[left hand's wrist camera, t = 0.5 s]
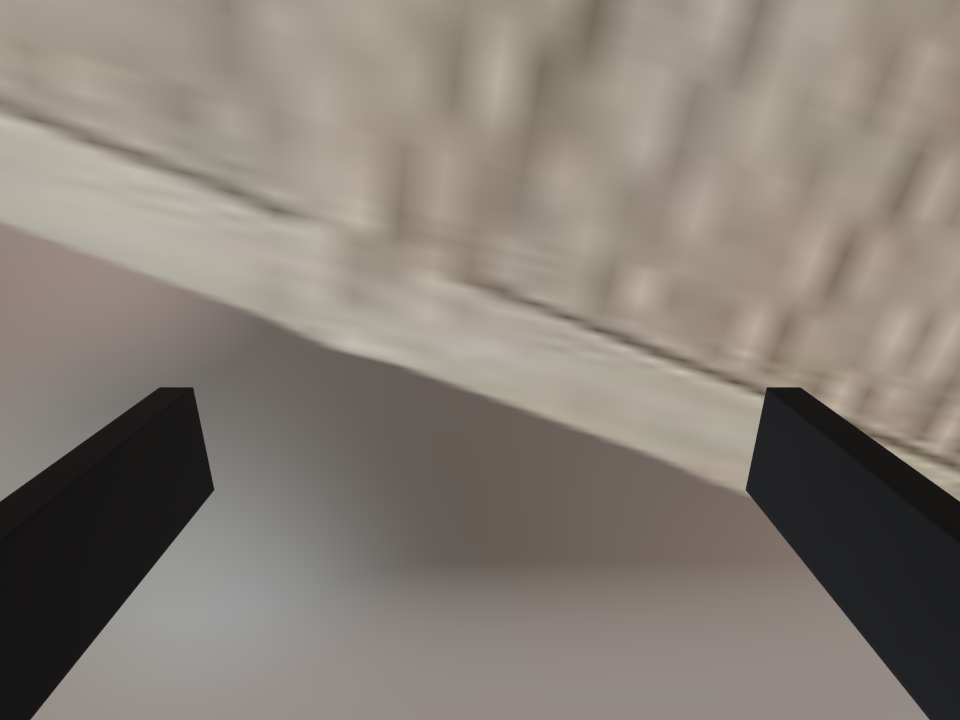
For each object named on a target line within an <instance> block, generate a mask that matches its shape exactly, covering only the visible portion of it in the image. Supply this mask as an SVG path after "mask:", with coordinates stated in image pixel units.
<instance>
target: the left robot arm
mask: <svg viewBox="0 0 960 720" xmlns="http://www.w3.org/2000/svg"><path fill="white" fill-rule="evenodd" d="M213 491H214V486H213V481H212V477H211V472H210V467H209V462H208V457H207V452H206V447H205V443H204V438H203V433H202V428H201V423H200V419H199V414H198V409H197V404H196V399H195V394H194V389H193V388H192V387H191V388H189V387H180V388H179V387H177V388H176V387H173V388H170V387H169V388H168V387H167V388H166V387H162V388H161V387H160V388H158V389H157V390H155V391H154V392H153V393H151V394H150V395H148V396H147V397H146V398H144V399H143V400H141V401H140V402H139V403H137V404H136V405H134V406H133V407H132V408H130V409H129V410H127V411H126V412H125V413H123V414H122V415H121V416H119V417H118V418H116V419H115V420H114V421H112V422H111V423H109V424H108V425H107V426H105V427H104V428H102V429H101V430H100V431H98V432H97V433H95V434H94V435H93V436H91V437H90V438H88V439H87V440H86V441H84V442H83V443H81V444H80V445H79V446H77V447H76V448H74V449H73V450H72V451H70V452H69V453H67V454H66V455H65V456H63V457H62V458H61V459H59V460H58V461H56V462H55V463H54V464H52V465H51V466H49V467H48V468H47V469H45V470H44V471H42V472H41V473H40V474H38V475H37V476H35V477H34V478H33V479H31V480H30V481H28V482H27V483H26V484H24V485H23V486H21V487H20V488H19V489H17V490H16V491H14V492H13V493H12V494H10V495H9V496H8V497H6V498H5V499H3V500H2V501H1V502H0V720H30V719H31V718H32V717H33V716H34V714H35V713H36V712H37V711H38V709H39V708H40V707H41V706H42V704H43V703H44V702H45V701H46V699H47V698H48V697H49V696H50V694H51V693H52V692H53V691H54V689H55V688H56V687H57V686H58V684H59V683H60V682H61V681H62V679H63V678H64V677H65V676H66V674H67V673H68V672H69V671H70V669H71V668H72V667H73V666H74V664H75V663H76V662H77V661H78V659H79V658H80V657H81V656H82V654H83V653H84V652H85V651H86V650H87V648H88V647H89V646H90V645H91V643H92V642H93V641H94V639H95V638H96V637H97V636H98V635H99V633H100V632H101V631H102V630H103V628H104V627H105V626H106V625H107V623H108V622H109V621H110V620H111V618H112V617H113V616H114V615H115V613H116V612H117V611H118V610H119V608H120V607H121V606H122V605H123V603H124V602H125V601H126V599H127V598H128V597H129V596H130V595H131V593H132V592H133V591H134V589H135V588H136V587H137V586H138V585H139V583H140V582H141V581H142V580H143V578H144V577H145V576H146V575H147V573H148V572H149V571H150V570H151V568H152V567H153V566H154V564H155V563H156V562H157V561H158V559H159V558H160V557H161V556H162V555H163V553H164V552H165V551H166V550H167V548H168V547H169V546H170V545H171V543H172V542H173V541H174V540H175V538H176V537H177V536H178V534H179V533H180V532H181V531H182V530H183V528H184V527H185V526H186V525H187V523H188V522H189V521H190V520H191V518H192V517H193V516H194V515H195V513H196V512H197V511H198V510H199V508H200V507H201V506H202V505H203V503H204V502H205V501H206V500H207V498H208V497H209V496H210V495H211V493H212V492H213ZM746 491H747V492H748V493H749V495H750V496H751V497H752V498H753V500H754V501H755V502H756V503H757V505H758V506H759V507H760V508H761V510H762V511H763V512H764V513H765V515H766V516H767V517H768V518H769V520H770V521H771V522H772V523H773V525H774V526H775V527H776V528H777V530H778V531H779V532H780V533H781V535H782V536H783V537H784V538H785V540H786V541H787V542H788V543H789V544H790V546H791V547H792V548H793V549H794V551H795V552H796V553H797V555H798V556H799V557H800V558H801V559H802V561H803V562H804V563H805V565H806V566H807V567H808V568H809V570H810V571H811V572H812V573H813V575H814V576H815V577H816V578H817V580H818V581H819V582H820V583H821V585H822V586H823V587H824V588H825V590H826V591H827V592H828V593H829V595H830V596H831V597H832V598H833V600H834V601H835V602H836V603H837V605H838V606H839V607H840V608H841V610H842V611H843V612H844V613H845V615H846V616H847V617H848V618H849V620H850V621H851V622H852V623H853V624H854V626H855V627H856V628H857V629H858V631H859V632H860V633H861V635H862V636H863V637H864V638H865V639H866V641H867V642H868V643H869V644H870V646H871V647H872V648H873V649H874V651H875V652H876V653H877V654H878V656H879V657H880V658H881V659H882V661H883V662H884V663H885V664H886V666H887V667H888V668H889V669H890V671H891V672H892V673H893V674H894V676H895V677H896V678H897V679H898V681H899V682H900V683H901V684H902V686H903V687H904V688H905V689H906V691H907V692H908V693H909V694H910V696H911V697H912V698H913V699H914V701H915V702H916V703H917V704H918V706H919V707H920V708H921V709H922V711H923V712H924V713H925V714H926V716H927V717H928V718H929V719H930V720H960V501H958V500H957V499H955V498H954V497H953V496H951V495H950V494H948V493H947V492H946V491H944V490H943V489H941V488H940V487H939V486H937V485H936V484H934V483H933V482H932V481H930V480H929V479H927V478H926V477H925V476H923V475H922V474H920V473H919V472H918V471H916V470H915V469H913V468H912V467H911V466H909V465H908V464H906V463H905V462H904V461H902V460H901V459H899V458H898V457H897V456H895V455H894V454H893V453H891V452H890V451H888V450H887V449H886V448H884V447H883V446H881V445H880V444H879V443H877V442H876V441H874V440H873V439H872V438H870V437H869V436H867V435H866V434H865V433H863V432H862V431H860V430H859V429H858V428H856V427H855V426H853V425H852V424H851V423H849V422H848V421H846V420H845V419H844V418H842V417H841V416H839V415H838V414H837V413H835V412H834V411H833V410H831V409H830V408H828V407H827V406H826V405H824V404H823V403H821V402H820V401H819V400H817V399H816V398H814V397H813V396H812V395H810V394H809V393H807V392H806V391H805V390H803V389H802V388H800V387H767V389H766V394H765V399H764V404H763V409H762V414H761V418H760V423H759V428H758V433H757V438H756V443H755V447H754V452H753V457H752V462H751V467H750V472H749V476H748V481H747V486H746Z"/></svg>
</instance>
